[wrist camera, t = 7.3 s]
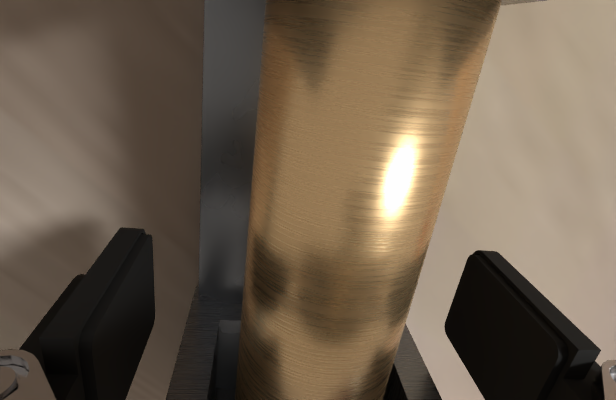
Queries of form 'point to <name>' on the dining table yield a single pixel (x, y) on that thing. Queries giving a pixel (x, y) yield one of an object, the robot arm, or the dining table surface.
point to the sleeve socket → (242, 215)
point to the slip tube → (349, 184)
